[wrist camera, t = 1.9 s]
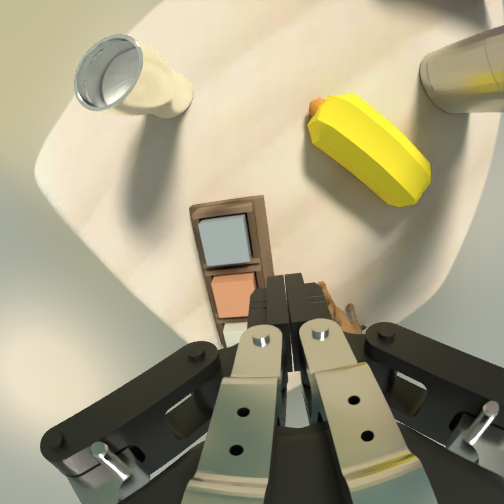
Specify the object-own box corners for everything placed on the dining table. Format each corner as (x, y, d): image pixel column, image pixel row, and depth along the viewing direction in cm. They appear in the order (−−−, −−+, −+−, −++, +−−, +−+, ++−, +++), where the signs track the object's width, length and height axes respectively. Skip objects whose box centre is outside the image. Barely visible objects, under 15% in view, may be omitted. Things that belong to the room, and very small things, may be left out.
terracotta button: (254, 268, 33) (252, 279, 31) (259, 302, 35) (258, 315, 32) (215, 272, 34) (211, 283, 31) (222, 305, 36) (219, 318, 33)
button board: (263, 195, 33) (262, 202, 29) (280, 334, 41) (281, 353, 37) (192, 205, 34) (181, 214, 30) (222, 338, 42) (218, 357, 38)
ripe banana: (324, 81, 27) (289, 129, 30) (337, 68, 21) (295, 125, 24) (428, 172, 30) (398, 215, 33) (456, 179, 24) (421, 231, 27)
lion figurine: (278, 295, 38) (280, 336, 30) (301, 266, 36) (309, 303, 28) (354, 336, 40) (368, 376, 32) (376, 312, 39) (396, 350, 30)
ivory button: (261, 316, 36) (260, 329, 33) (265, 343, 38) (265, 356, 35) (226, 319, 36) (222, 331, 34) (232, 345, 38) (230, 358, 36)
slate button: (245, 212, 31) (243, 218, 28) (251, 252, 33) (250, 261, 30) (204, 217, 31) (198, 224, 29) (211, 256, 33) (207, 266, 30)
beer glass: (196, 66, 27) (147, 21, 13) (198, 118, 30) (145, 102, 16) (144, 76, 28) (74, 48, 14) (145, 125, 30) (71, 122, 17)
